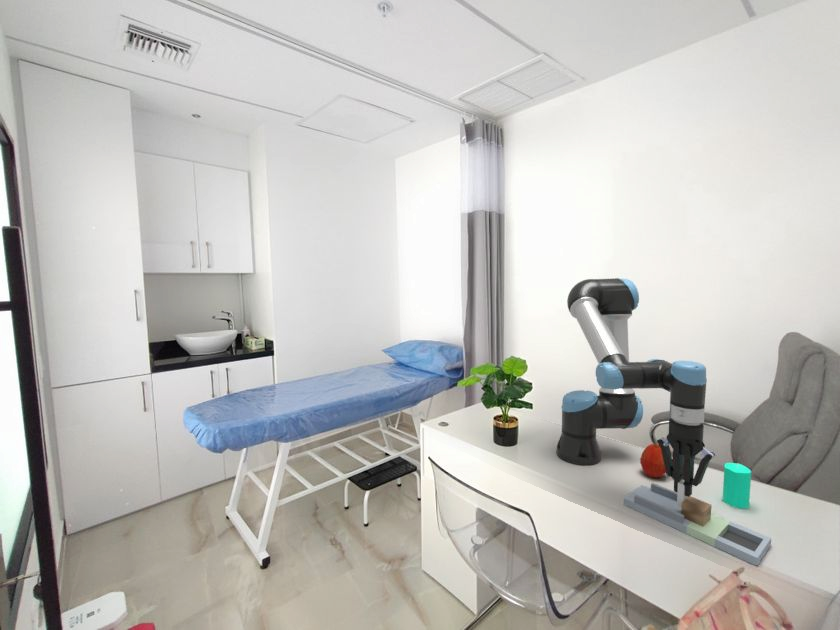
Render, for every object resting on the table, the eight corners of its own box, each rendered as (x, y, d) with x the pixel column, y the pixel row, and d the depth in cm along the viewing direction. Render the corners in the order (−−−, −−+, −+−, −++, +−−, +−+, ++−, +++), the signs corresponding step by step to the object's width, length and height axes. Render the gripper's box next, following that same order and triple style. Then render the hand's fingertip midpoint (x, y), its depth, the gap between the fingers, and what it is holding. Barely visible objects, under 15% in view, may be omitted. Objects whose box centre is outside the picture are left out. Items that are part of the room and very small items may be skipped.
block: (681, 516, 102) (681, 502, 102) (688, 509, 105) (689, 496, 105) (703, 526, 98) (704, 511, 98) (710, 519, 101) (711, 504, 101)
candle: (724, 494, 116) (727, 455, 114) (750, 502, 111) (753, 462, 110) (720, 502, 112) (722, 462, 110) (746, 511, 107) (749, 470, 106)
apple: (672, 483, 122) (674, 450, 121) (643, 479, 125) (644, 447, 123) (664, 470, 130) (666, 439, 129) (637, 467, 132) (638, 437, 131)
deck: (623, 504, 112) (623, 491, 111) (641, 491, 118) (642, 478, 118) (756, 566, 88) (758, 549, 87) (770, 545, 94) (772, 530, 93)
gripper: (653, 416, 105) (649, 499, 107) (710, 431, 94) (705, 522, 97) (665, 410, 109) (662, 489, 111) (721, 424, 99) (716, 511, 101)
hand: (682, 505), depth 104 cm, fingers closed
